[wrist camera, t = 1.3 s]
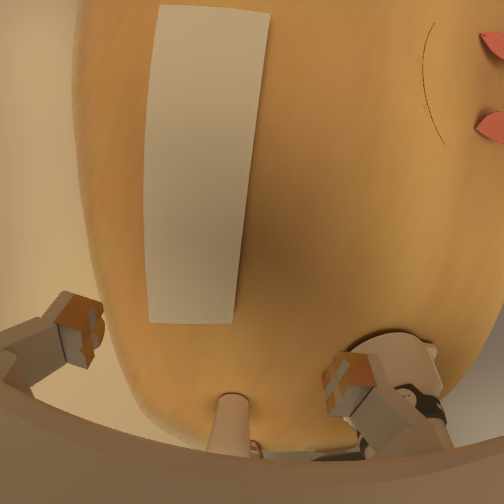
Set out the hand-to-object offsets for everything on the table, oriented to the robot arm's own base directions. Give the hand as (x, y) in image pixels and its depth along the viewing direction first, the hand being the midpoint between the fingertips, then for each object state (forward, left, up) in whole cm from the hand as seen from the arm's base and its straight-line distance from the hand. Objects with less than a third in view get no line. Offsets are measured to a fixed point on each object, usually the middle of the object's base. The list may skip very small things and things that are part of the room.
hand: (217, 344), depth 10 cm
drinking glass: (-35, +15, -25) cm, 45 cm away
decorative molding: (0, 0, -24) cm, 24 cm away
